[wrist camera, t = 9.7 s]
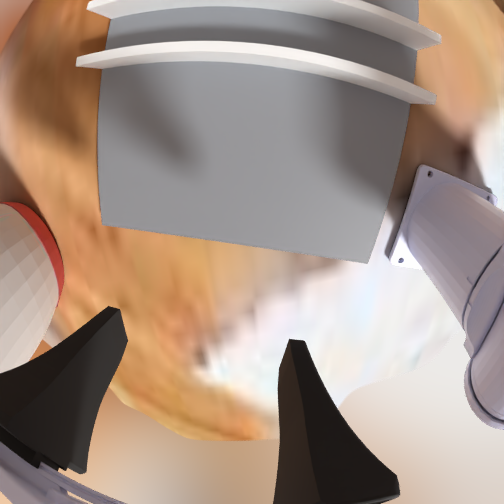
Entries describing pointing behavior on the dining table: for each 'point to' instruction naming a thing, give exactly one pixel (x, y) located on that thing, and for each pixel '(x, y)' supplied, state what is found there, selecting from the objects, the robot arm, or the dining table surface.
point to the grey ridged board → (256, 118)
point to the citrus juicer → (26, 283)
